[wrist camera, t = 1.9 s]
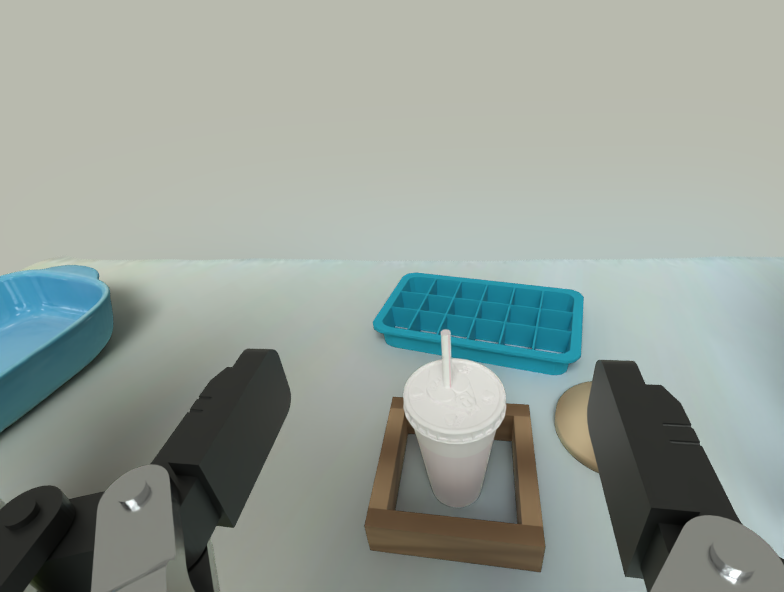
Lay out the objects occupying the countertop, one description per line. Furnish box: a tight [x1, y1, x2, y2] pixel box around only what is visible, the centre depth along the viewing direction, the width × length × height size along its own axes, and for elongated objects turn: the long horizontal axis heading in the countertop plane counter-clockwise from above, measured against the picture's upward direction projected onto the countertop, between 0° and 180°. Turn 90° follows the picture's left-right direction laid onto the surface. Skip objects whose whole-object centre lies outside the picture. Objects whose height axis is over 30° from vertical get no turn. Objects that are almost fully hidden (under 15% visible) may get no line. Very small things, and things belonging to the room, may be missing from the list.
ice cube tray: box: [373, 273, 584, 375], centre depth 46 cm, size 12×20×3 cm, turn 69°
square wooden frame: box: [364, 397, 545, 572], centre depth 31 cm, size 11×11×3 cm
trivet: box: [555, 381, 599, 473], centre depth 34 cm, size 9×9×1 cm
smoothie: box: [403, 330, 506, 508], centre depth 28 cm, size 6×6×14 cm
